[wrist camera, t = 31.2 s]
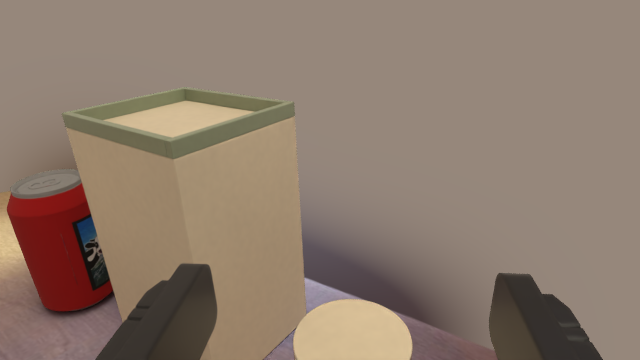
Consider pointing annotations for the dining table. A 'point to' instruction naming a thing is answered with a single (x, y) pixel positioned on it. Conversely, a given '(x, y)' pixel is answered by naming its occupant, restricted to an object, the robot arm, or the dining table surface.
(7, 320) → the dining table surface
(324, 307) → the terracotta jar
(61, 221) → the beverage can
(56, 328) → the dining table surface
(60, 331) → the dining table surface
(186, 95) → the cabinet
